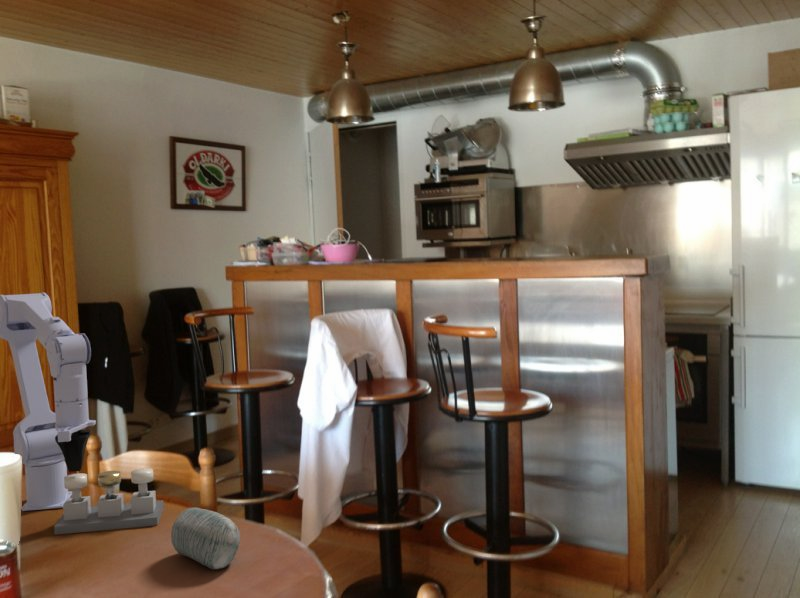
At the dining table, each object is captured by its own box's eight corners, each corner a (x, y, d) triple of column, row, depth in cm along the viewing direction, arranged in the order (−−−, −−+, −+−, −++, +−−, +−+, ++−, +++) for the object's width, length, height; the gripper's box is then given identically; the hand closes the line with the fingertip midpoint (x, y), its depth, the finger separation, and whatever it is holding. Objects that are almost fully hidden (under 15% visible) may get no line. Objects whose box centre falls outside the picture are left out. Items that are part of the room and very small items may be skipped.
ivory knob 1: (68, 498, 145) (66, 474, 144) (90, 497, 146) (89, 472, 145) (63, 505, 141) (61, 480, 140) (85, 503, 142) (84, 478, 141)
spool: (150, 538, 126) (179, 485, 127) (196, 548, 132) (224, 497, 133) (182, 584, 116) (214, 525, 117) (231, 592, 122) (261, 536, 123)
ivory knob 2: (133, 493, 147) (132, 469, 147) (155, 491, 148) (154, 467, 148) (130, 500, 143) (129, 475, 143) (152, 498, 144) (151, 473, 144)
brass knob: (101, 496, 146) (100, 471, 146) (123, 494, 147) (121, 470, 146) (97, 502, 142) (95, 477, 142) (119, 500, 143) (118, 475, 142)
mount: (67, 516, 148) (66, 493, 147) (163, 507, 151) (162, 485, 151) (54, 534, 138) (53, 510, 138) (157, 525, 141) (156, 501, 141)
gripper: (85, 405, 136) (89, 479, 136) (101, 391, 150) (104, 458, 151) (43, 408, 134) (47, 483, 135) (63, 393, 148) (67, 461, 149)
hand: (75, 470), depth 143 cm, fingers closed
